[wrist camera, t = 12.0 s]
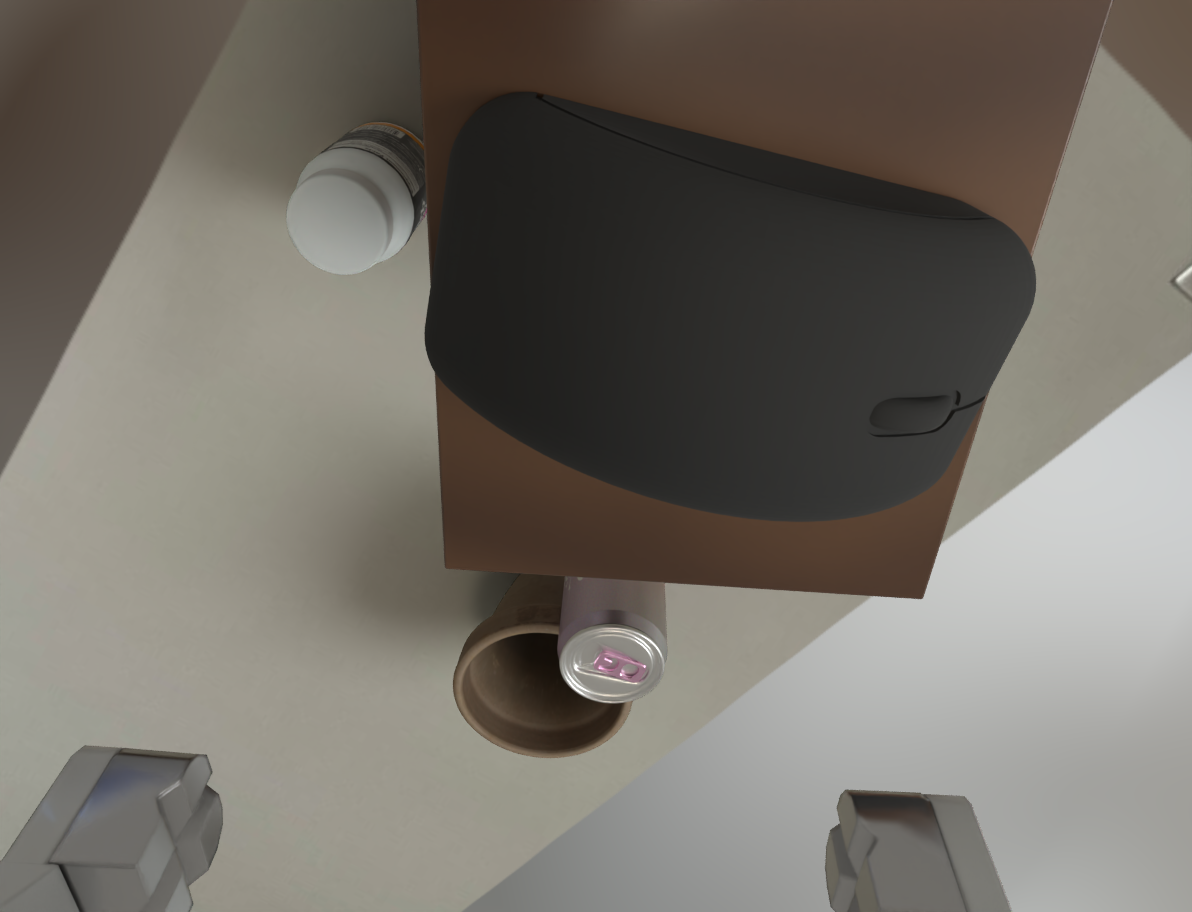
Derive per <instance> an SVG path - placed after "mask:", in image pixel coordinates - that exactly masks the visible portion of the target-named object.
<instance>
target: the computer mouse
mask: <svg viewBox="0 0 1192 912" xmlns="http://www.w3.org/2000/svg"><path fill="white" fill-rule="evenodd" d="M1035 292H1036V274H1035V268H1034V264H1033V261H1032V258H1031V255H1030V253H1029V251H1028V249H1027V247H1026V245H1025V244H1024V242H1023V241H1022V239H1021V238H1020V237H1019V236H1018V235H1017V234H1016V233H1015V232H1014V231H1013V230H1012V229H1011V228H1010V227H1008V226H1007V225H1006V224H1004V223H1003V222H1001V221H999V220H998V219H996V218H994V217H992V216H990V215H988V214H986V213H984V212H982V211H981V210H979V209H977V208H975V207H973V206H971V205H969V204H967V203H965V202H962V201H960V200H957V199H954V198H951V197H947V196H943V195H939V194H935V193H931V192H927V191H923V190H920V189H916V188H912V187H908V186H904V185H900V184H896V183H892V182H888V181H884V180H880V179H876V178H872V177H868V176H865V175H861V174H857V173H853V172H849V171H845V170H841V169H837V168H833V167H829V166H825V165H821V164H817V163H813V162H809V161H806V160H802V159H798V158H794V157H790V156H786V155H782V154H778V153H774V152H770V151H766V150H762V149H758V148H754V147H751V146H747V145H743V144H739V143H735V142H731V141H727V140H723V139H719V138H715V137H711V136H707V135H703V134H699V133H695V132H692V131H688V130H684V129H680V128H676V127H672V126H668V125H664V124H660V123H656V122H652V121H648V120H644V119H640V118H637V117H633V116H629V115H625V114H621V113H617V112H613V111H609V110H605V109H601V108H597V107H593V106H589V105H585V104H582V103H578V102H574V101H570V100H566V99H562V98H558V97H554V96H550V95H546V94H544V96H543V98H540V97H537V93H536V92H515V93H510V94H506V95H502V96H500V97H497V98H495V99H493V100H491V101H489V102H487V103H486V104H484V105H483V106H481V107H480V108H479V109H478V110H477V111H476V112H475V113H474V114H473V115H472V116H471V117H470V118H469V119H468V121H467V122H466V123H465V125H464V126H463V127H462V129H461V130H460V132H459V133H458V135H457V137H456V139H455V141H454V144H453V146H452V149H451V153H450V157H449V162H448V169H447V176H446V183H445V190H444V197H443V204H442V211H441V218H440V225H439V232H438V239H437V246H436V253H435V260H434V267H433V274H432V281H431V289H430V296H429V303H428V310H427V317H426V324H425V346H426V351H427V355H428V358H429V361H430V363H431V366H432V368H433V370H434V371H435V373H436V375H437V376H438V378H439V379H440V380H441V381H442V383H443V384H444V385H445V386H446V387H447V388H448V389H449V390H450V391H451V392H452V393H454V394H455V395H456V396H457V397H458V398H459V399H460V400H462V401H463V402H464V403H465V404H466V405H468V406H469V407H470V408H471V409H473V410H474V411H475V412H477V413H478V414H479V415H481V416H482V417H483V418H485V419H486V420H487V421H489V422H490V423H492V424H493V425H495V426H496V427H498V428H499V429H501V430H502V431H504V432H505V433H507V434H509V435H510V436H512V437H513V438H515V439H516V440H518V441H520V442H522V443H523V444H525V445H527V446H529V447H531V448H532V449H534V450H536V451H538V452H540V453H541V454H543V455H545V456H547V457H549V458H551V459H553V460H555V461H557V462H559V463H561V464H563V465H566V466H568V467H570V468H572V469H574V470H577V471H579V472H581V473H583V474H586V475H588V476H591V477H593V478H596V479H598V480H601V481H603V482H606V483H608V484H611V485H613V486H616V487H619V488H622V489H625V490H628V491H631V492H634V493H637V494H640V495H643V496H646V497H649V498H653V499H656V500H660V501H663V502H667V503H670V504H674V505H678V506H682V507H687V508H691V509H695V510H700V511H705V512H710V513H715V514H720V515H726V516H733V517H740V518H747V519H757V520H768V521H787V522H815V521H831V520H840V519H847V518H853V517H859V516H864V515H868V514H873V513H876V512H879V511H883V510H886V509H889V508H892V507H895V506H897V505H900V504H902V503H904V502H906V501H908V500H911V499H913V498H914V497H916V496H918V495H920V494H921V493H923V492H925V491H926V490H928V489H929V488H930V487H932V486H933V485H934V484H935V483H936V482H937V481H938V480H939V479H940V478H941V477H942V476H943V474H944V473H945V472H946V470H947V468H948V467H949V465H950V463H951V461H952V459H953V457H954V456H955V454H956V452H957V450H958V448H959V446H960V444H961V442H962V440H963V439H964V437H965V435H966V433H967V431H968V429H969V427H970V425H971V423H972V422H973V420H974V418H975V416H976V414H977V412H978V410H979V408H980V407H981V405H982V403H983V401H984V399H985V397H986V395H987V393H988V392H989V390H990V388H991V386H992V384H993V382H994V380H995V378H996V376H997V375H998V373H999V371H1000V369H1001V367H1002V365H1003V363H1004V361H1005V359H1006V358H1007V356H1008V354H1009V352H1010V350H1011V348H1012V346H1013V344H1014V342H1015V340H1016V339H1017V337H1018V335H1019V333H1020V331H1021V329H1022V327H1023V325H1024V323H1025V322H1026V320H1027V318H1028V316H1029V314H1030V311H1031V308H1032V305H1033V302H1034V297H1035Z"/></svg>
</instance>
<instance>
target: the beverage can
mask: <svg viewBox="0 0 1192 912" xmlns="http://www.w3.org/2000/svg"><path fill="white" fill-rule="evenodd" d="M557 652H558V657H559V665H560V671H561V674H562V676H563V678H564V680H565V682H566V683H567V684H568V685H569V686H570V687H571V688H572V689H573V690H574V691H575V692H577V693H578V694H580V695H581V696H583V697H585V698H588V699H590V700H594V701H597V702H602V703H624V702H629V701H633V700H636V699H639V698H641V697H643V696H645V695H646V694H648V693H649V692H651V691H652V690H653V689H654V688H655V687H656V686H657V685H658V683H659V682H660V680H661V678H662V676H663V673H664V665H665V662H666V659H667V627H666V603H665V583H663V582H647V581H632V580H616V579H600V578H585V577H569V576H565V580H564V590H563V599H562V608H561V618H560V627H559V636H558V646H557Z"/></svg>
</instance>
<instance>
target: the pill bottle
mask: <svg viewBox="0 0 1192 912" xmlns="http://www.w3.org/2000/svg"><path fill="white" fill-rule="evenodd" d="M426 213H427V203H426V183H425V163H424V144H423V142H422V141H421V140H420V139H419V138H418V137H416V136H415V135H414V134H413V133H411V132H410V131H408V130H407V129H405V128H403V127H401V126H398V125H395V124H391V123H386V122H372V123H367V124H364V125H361V126H359V127H356V128H355V129H353V130H351V131H350V132H348V133H347V134H345V135H344V136H343V137H342V138H341V139H339V140H338V141H337V142H335V143H334V144H332V145H331V146H329V147H328V148H327V149H325V150H324V151H323V152H321V153H320V154H319V155H318V156H316V157H315V158H314V159H313V160H312V161H311V162H309V164H308V165H307V166H306V167H305V168H304V169H303V171H302V173H301V175H300V177H299V180H298V182H297V186H296V189H295V191H294V192H293V193H292V195H291V197H290V199H289V202H288V205H287V210H286V223H287V229H288V232H289V235H290V238H291V240H292V242H293V244H294V245H295V247H296V248H297V250H298V251H299V252H300V253H301V255H302V256H303V257H304V258H305V259H306V260H307V261H309V262H310V263H311V264H313V265H314V266H316V267H318V268H319V269H321V270H324V271H327V272H330V273H333V274H338V275H351V274H356V273H360V272H363V271H365V270H367V269H369V268H370V267H372V266H373V265H374V264H376V263H379V262H382V261H385V260H387V259H389V258H390V257H392V256H393V255H395V254H396V253H398V252H399V251H400V250H401V249H402V248H403V247H404V246H405V244H406V243H407V242H408V240H409V238H410V237H411V235H412V233H413V232H414V230H415V229H416V228H417V226H418V225H419V224H420V222H421V221H422V220H423V218H424V217H425V215H426Z"/></svg>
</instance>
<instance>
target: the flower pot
mask: <svg viewBox="0 0 1192 912" xmlns="http://www.w3.org/2000/svg"><path fill="white" fill-rule="evenodd" d="M564 580H565V576H554V575H538V574H522V573H521V574H520V575H519V576H518V577H517V579H516V580H515V581H514V583H513V584H512V585H511V587H510V588H509V590H508V591H507V592H506V594H505V596H504V597H503V599H502V600H501V602H500V603H499V605H498V607H497V608H496V610H495V612H494V614H493V615H492V616H491V617H489V618H488V619H486V620H485V621H483V622H482V623H481V624H480V625H479V626H478V627H477V628H476V629H475V630H474V631H473V632H472V633H471V634H470V636H469V637H468V639H467V641H466V642H465V644H464V647H463V649H462V652H461V655H460V658H459V661H458V664H457V666H456V669H455V672H454V678H453V692H454V697H455V701H456V704H457V706H458V708H459V711H460V712H461V714H462V716H463V717H464V719H465V720H466V721H467V723H468V724H469V725H470V726H471V727H472V728H473V729H474V730H475V731H476V732H477V733H479V734H480V735H481V736H483V737H484V738H485V739H487V740H488V741H490V742H492V743H493V744H495V745H497V746H499V747H502V748H504V749H506V750H509V751H512V752H515V753H518V754H522V755H526V756H532V757H540V758H560V757H568V756H573V755H578V754H581V753H584V752H587V751H590V750H592V749H594V748H596V747H598V746H600V745H602V744H603V743H605V742H606V741H608V740H609V739H610V738H611V737H613V736H614V735H615V734H616V733H617V732H618V730H619V729H620V728H621V727H622V725H623V724H624V722H625V720H626V718H627V717H628V715H629V712H630V709H631V706H632V701H629V702H624V703H602V702H597V701H594V700H590V699H588V698H585V697H583V696H581V695H580V694H578V693H577V692H575V691H574V690H573V689H572V688H571V687H570V686H569V685H568V684H567V683H566V682H565V680H564V678H563V676H562V674H561V671H560V665H559V657H558V652H557V646H558V636H559V627H560V618H561V608H562V599H563V590H564Z"/></svg>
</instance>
